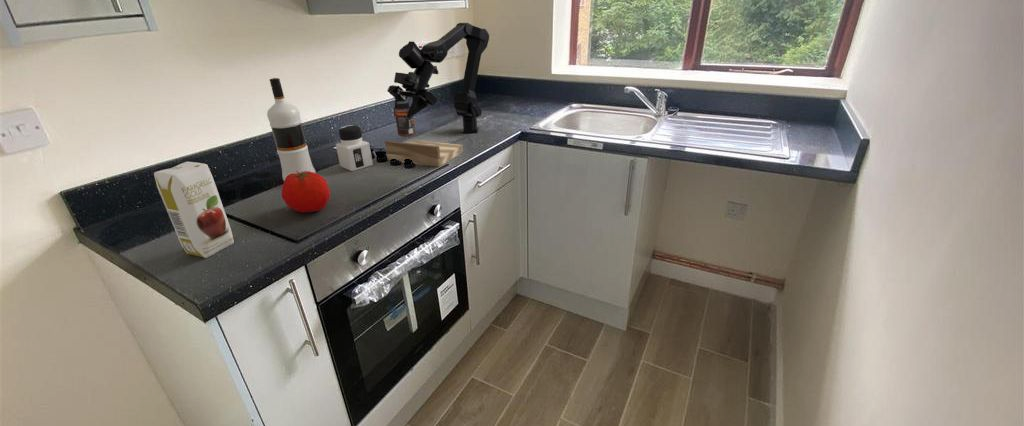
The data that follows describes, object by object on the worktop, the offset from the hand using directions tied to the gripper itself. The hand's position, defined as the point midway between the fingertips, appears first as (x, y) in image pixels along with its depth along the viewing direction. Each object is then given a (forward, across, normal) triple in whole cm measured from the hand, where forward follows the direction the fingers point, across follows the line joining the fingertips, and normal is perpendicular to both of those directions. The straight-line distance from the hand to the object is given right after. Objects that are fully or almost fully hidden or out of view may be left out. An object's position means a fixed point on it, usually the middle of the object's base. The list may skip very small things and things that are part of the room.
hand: (401, 116), depth 148 cm
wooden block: (+8, +7, +11) cm, 15 cm away
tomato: (+41, +12, -22) cm, 48 cm away
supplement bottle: (+4, 0, +6) cm, 7 cm away
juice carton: (+57, +11, -40) cm, 71 cm away
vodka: (+33, -10, -15) cm, 38 cm away
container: (+21, -6, -2) cm, 22 cm away
